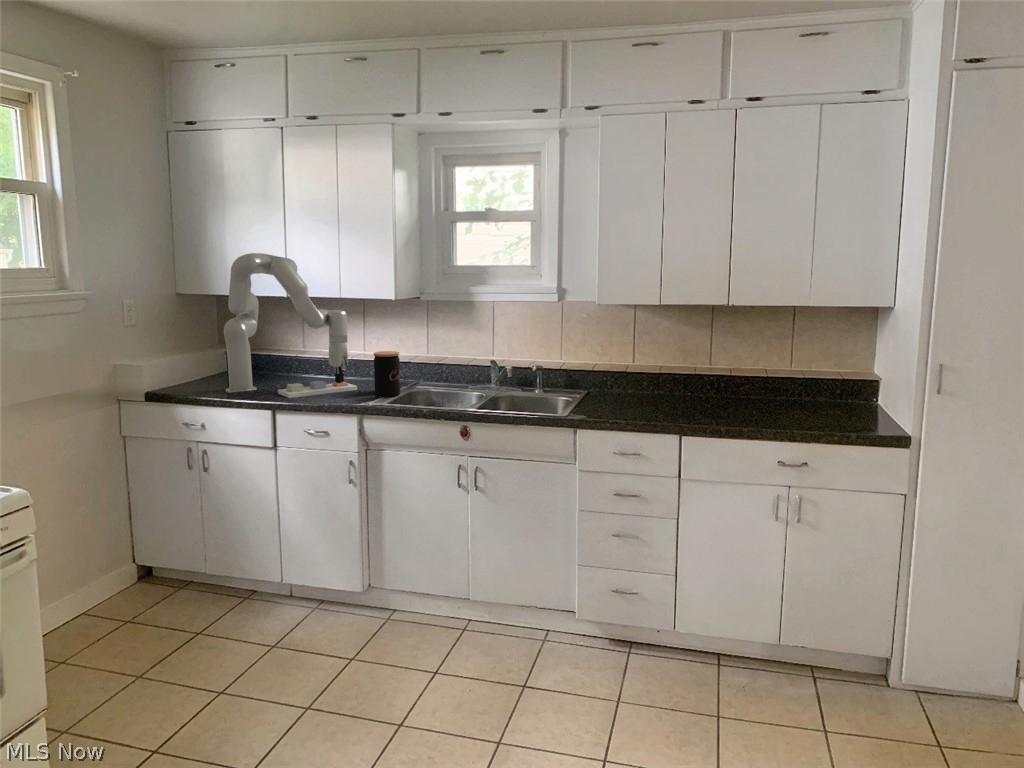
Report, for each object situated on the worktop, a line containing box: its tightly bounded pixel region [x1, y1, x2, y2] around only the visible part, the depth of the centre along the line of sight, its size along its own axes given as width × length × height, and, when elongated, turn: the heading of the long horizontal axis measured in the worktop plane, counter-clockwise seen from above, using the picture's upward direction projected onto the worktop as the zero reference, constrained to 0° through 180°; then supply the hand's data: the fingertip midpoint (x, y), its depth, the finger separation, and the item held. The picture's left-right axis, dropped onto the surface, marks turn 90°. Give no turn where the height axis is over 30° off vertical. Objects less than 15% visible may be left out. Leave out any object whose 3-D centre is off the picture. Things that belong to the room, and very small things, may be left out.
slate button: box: [309, 380, 327, 390], centre depth 319 cm, size 5×5×4 cm
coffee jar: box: [373, 350, 401, 398], centre depth 317 cm, size 11×11×18 cm
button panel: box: [277, 382, 358, 399], centre depth 319 cm, size 12×30×3 cm, turn 127°
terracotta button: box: [331, 381, 349, 387], centre depth 325 cm, size 5×5×4 cm
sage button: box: [286, 382, 304, 392], centre depth 313 cm, size 5×5×4 cm
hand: (339, 382), depth 324 cm, fingers closed
